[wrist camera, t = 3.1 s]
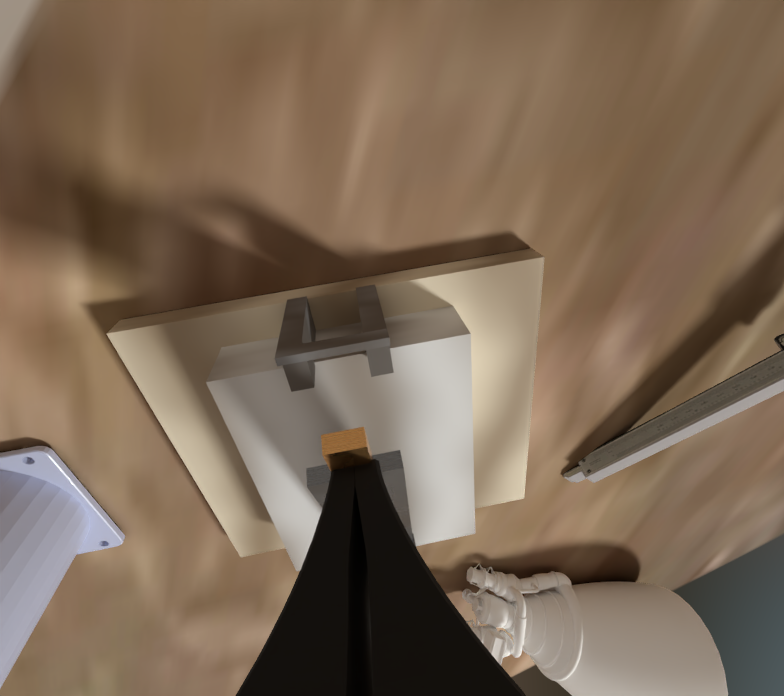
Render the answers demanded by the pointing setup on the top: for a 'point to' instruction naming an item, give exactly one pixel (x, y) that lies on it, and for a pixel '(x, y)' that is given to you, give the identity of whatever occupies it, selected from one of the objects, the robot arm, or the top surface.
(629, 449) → the caliper
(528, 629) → the rocket engine
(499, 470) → the base board
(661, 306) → the top surface
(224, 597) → the top surface
